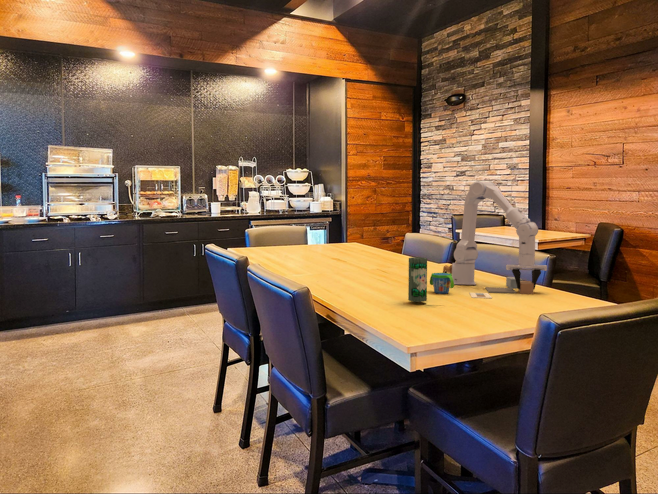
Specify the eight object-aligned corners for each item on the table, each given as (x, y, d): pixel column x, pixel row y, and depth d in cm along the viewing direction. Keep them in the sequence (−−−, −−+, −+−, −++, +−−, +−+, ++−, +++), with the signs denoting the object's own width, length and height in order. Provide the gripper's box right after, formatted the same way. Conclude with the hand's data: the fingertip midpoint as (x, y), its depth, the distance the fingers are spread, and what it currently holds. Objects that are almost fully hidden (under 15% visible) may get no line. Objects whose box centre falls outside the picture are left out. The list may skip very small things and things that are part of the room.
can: (415, 302, 171) (415, 259, 170) (405, 299, 177) (405, 257, 176) (429, 301, 174) (430, 258, 173) (419, 298, 179) (420, 257, 178)
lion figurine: (462, 278, 230) (462, 262, 229) (455, 279, 228) (455, 263, 227) (443, 275, 240) (443, 260, 239) (436, 276, 238) (436, 261, 237)
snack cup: (424, 291, 194) (424, 272, 193) (439, 290, 197) (440, 271, 197) (442, 296, 184) (443, 276, 183) (459, 294, 187) (459, 274, 186)
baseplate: (488, 292, 190) (489, 291, 190) (485, 288, 200) (485, 287, 200) (516, 293, 188) (516, 291, 188) (511, 289, 198) (511, 287, 198)
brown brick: (520, 293, 188) (521, 283, 187) (518, 290, 194) (518, 280, 194) (533, 294, 187) (533, 283, 186) (530, 291, 193) (530, 281, 193)
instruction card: (472, 297, 180) (472, 296, 180) (469, 293, 189) (469, 292, 189) (492, 298, 178) (492, 297, 178) (488, 293, 188) (488, 292, 188)
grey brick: (510, 288, 200) (510, 279, 200) (506, 286, 207) (506, 276, 207) (522, 289, 200) (522, 279, 200) (517, 286, 207) (517, 276, 207)
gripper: (508, 254, 187) (507, 290, 188) (549, 254, 184) (548, 291, 185) (505, 252, 194) (504, 287, 195) (544, 253, 191) (543, 288, 192)
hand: (525, 288), depth 190 cm, fingers closed on brown brick, 5 cm apart
